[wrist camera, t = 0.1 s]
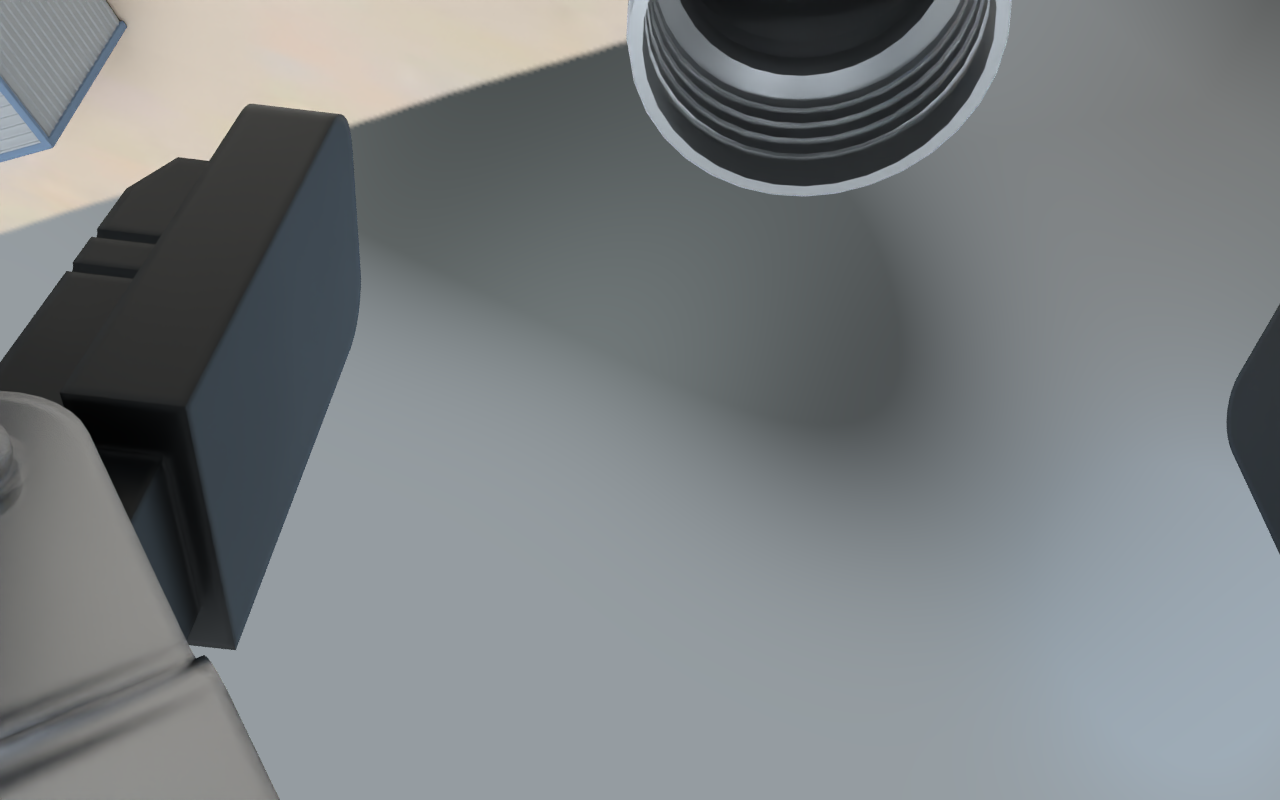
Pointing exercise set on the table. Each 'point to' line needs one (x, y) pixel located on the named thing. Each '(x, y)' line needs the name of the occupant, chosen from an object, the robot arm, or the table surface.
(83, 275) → the robot arm
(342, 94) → the table surface
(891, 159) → the plastic bottle
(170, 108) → the table surface
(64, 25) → the warehouse
